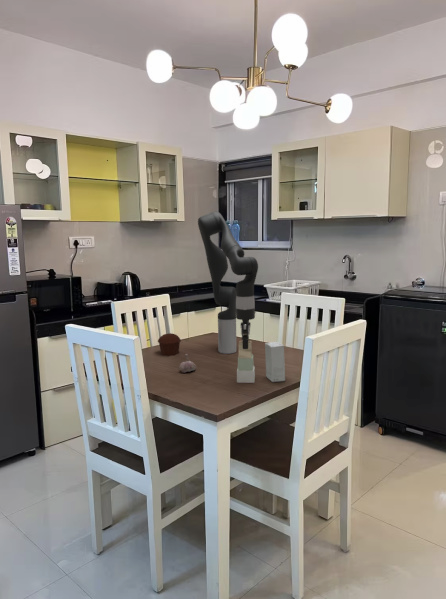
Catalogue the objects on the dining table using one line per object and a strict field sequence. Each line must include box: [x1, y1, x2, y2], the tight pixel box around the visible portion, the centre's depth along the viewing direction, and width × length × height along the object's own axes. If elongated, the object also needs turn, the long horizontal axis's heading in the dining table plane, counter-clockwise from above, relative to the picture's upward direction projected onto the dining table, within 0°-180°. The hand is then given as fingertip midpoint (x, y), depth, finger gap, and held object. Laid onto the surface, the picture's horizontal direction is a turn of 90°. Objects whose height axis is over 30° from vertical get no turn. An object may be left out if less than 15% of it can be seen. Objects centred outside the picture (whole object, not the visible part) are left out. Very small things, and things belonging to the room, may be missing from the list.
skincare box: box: [264, 341, 286, 383], centre depth 186 cm, size 8×6×15 cm
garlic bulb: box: [178, 353, 197, 374], centre depth 199 cm, size 8×7×8 cm
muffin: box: [157, 332, 182, 357], centre depth 229 cm, size 12×11×10 cm
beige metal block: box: [238, 340, 253, 358], centre depth 185 cm, size 5×5×6 cm
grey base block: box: [236, 365, 256, 384], centre depth 186 cm, size 7×7×5 cm
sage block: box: [237, 354, 255, 371], centre depth 186 cm, size 6×6×5 cm
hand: (245, 346), depth 184 cm, fingers open, 8 cm apart
